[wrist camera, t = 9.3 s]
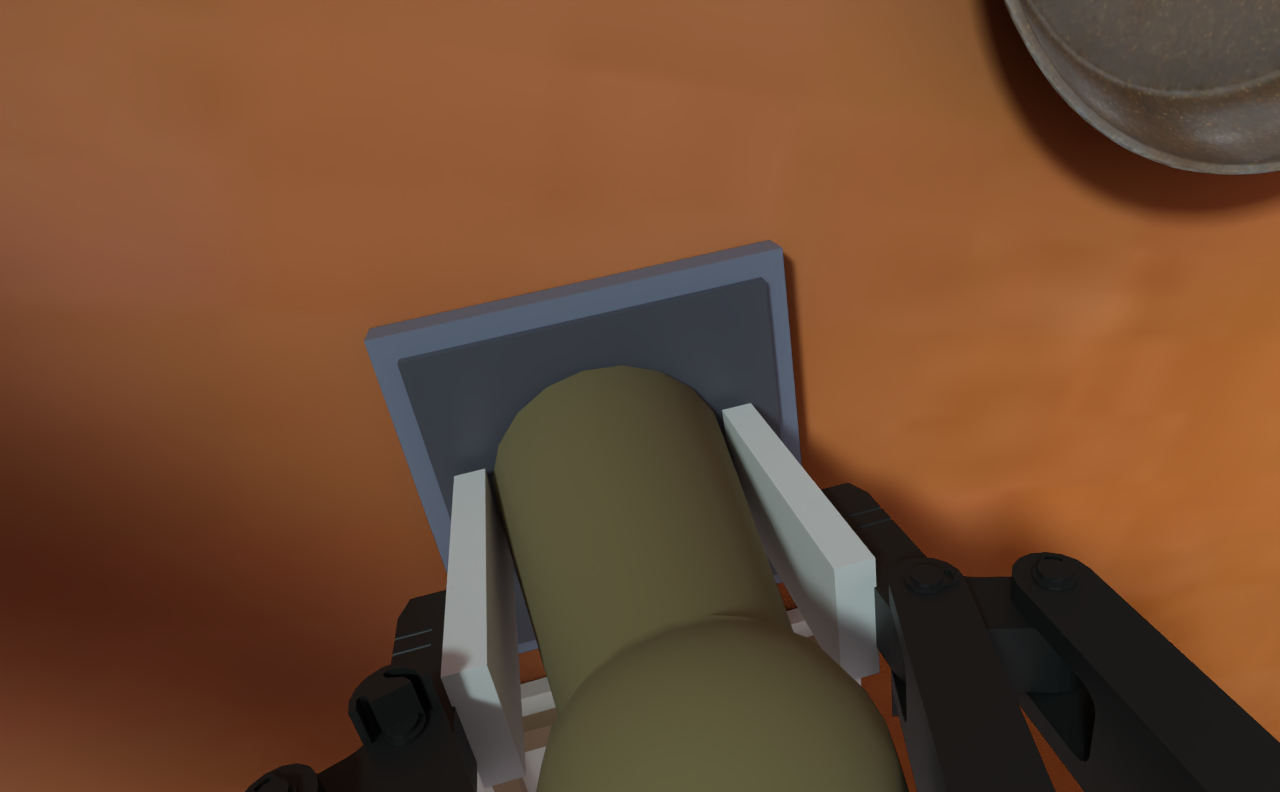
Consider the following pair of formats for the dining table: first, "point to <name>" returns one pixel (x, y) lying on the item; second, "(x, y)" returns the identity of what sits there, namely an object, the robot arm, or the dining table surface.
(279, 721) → the dining table surface
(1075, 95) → the plant saucer
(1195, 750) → the robot arm
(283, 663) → the dining table surface
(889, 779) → the olive knob handle
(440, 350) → the ink pad
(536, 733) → the board
